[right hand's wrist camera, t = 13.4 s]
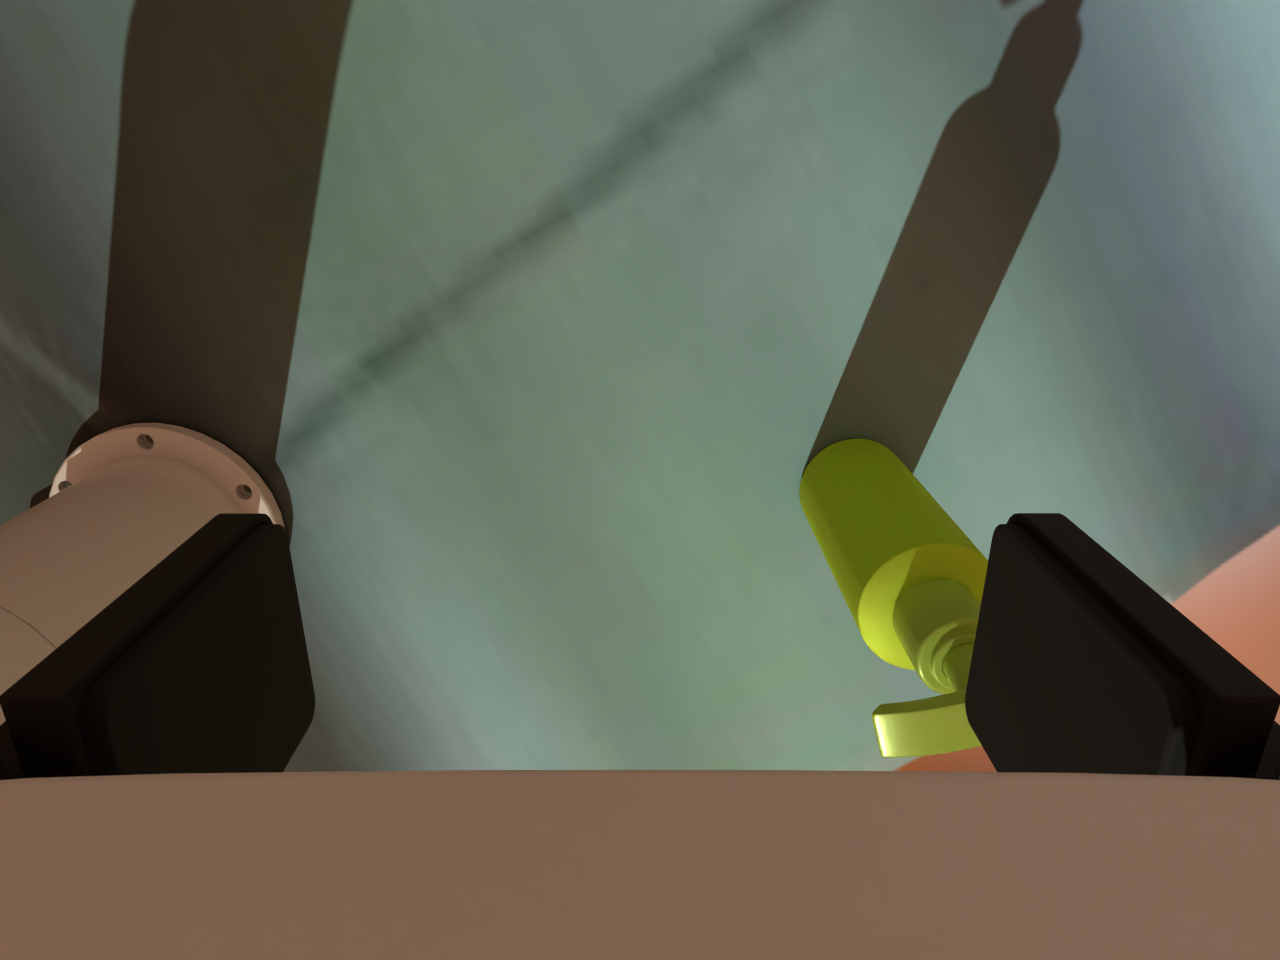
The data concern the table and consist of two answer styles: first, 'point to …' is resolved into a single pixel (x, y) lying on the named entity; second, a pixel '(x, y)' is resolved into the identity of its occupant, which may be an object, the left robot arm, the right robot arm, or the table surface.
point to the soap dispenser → (900, 586)
